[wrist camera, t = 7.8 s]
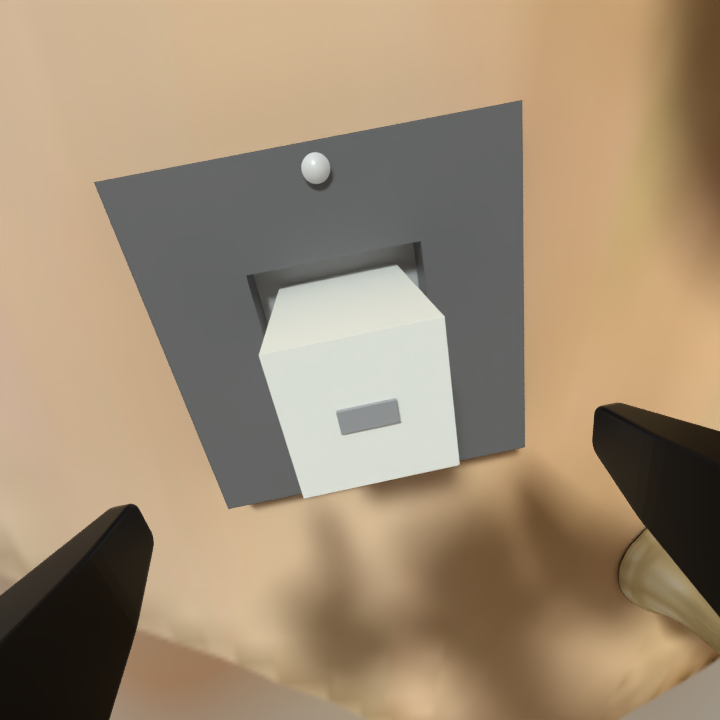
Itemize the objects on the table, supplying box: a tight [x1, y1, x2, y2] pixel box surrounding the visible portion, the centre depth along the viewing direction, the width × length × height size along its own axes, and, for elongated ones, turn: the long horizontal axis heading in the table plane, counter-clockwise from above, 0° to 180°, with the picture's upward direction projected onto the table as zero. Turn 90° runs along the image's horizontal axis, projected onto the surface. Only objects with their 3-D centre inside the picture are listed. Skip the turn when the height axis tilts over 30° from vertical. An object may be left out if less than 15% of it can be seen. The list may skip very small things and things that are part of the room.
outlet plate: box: [94, 100, 525, 509], centre depth 14 cm, size 12×12×2 cm
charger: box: [259, 262, 460, 498], centre depth 12 cm, size 4×4×6 cm
